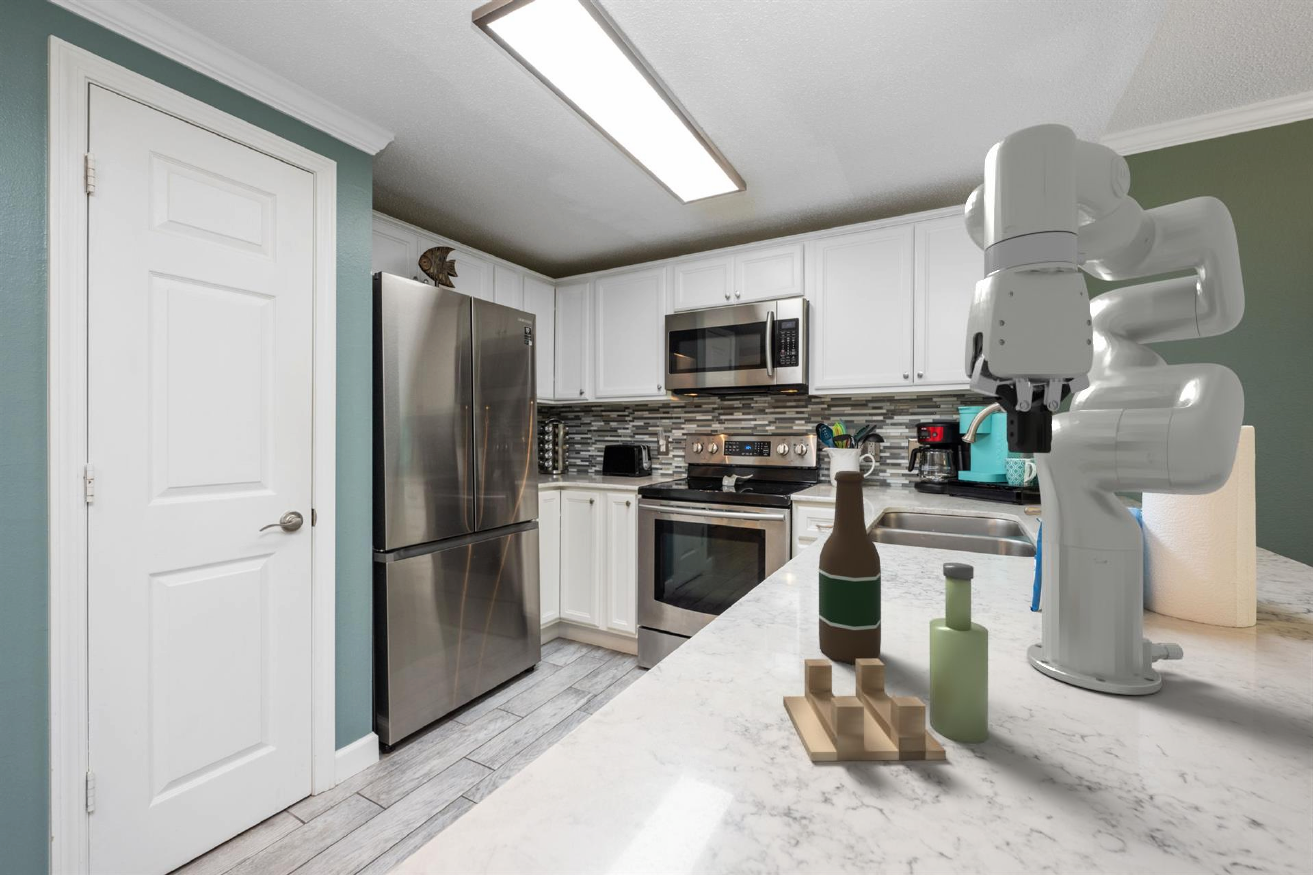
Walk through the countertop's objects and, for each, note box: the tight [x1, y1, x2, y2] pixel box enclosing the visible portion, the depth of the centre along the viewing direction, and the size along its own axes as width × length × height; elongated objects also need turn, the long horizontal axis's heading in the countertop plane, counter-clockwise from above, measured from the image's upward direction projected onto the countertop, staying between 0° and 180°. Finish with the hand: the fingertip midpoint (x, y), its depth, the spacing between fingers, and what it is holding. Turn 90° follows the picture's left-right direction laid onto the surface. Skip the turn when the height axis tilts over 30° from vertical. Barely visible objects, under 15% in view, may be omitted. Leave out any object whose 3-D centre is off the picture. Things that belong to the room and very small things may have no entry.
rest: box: [782, 658, 947, 762], centre depth 52 cm, size 12×10×5 cm
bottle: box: [929, 562, 989, 744], centre depth 53 cm, size 5×5×16 cm
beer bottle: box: [818, 470, 882, 666], centre depth 70 cm, size 8×8×24 cm
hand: (1029, 452), depth 52 cm, fingers closed
